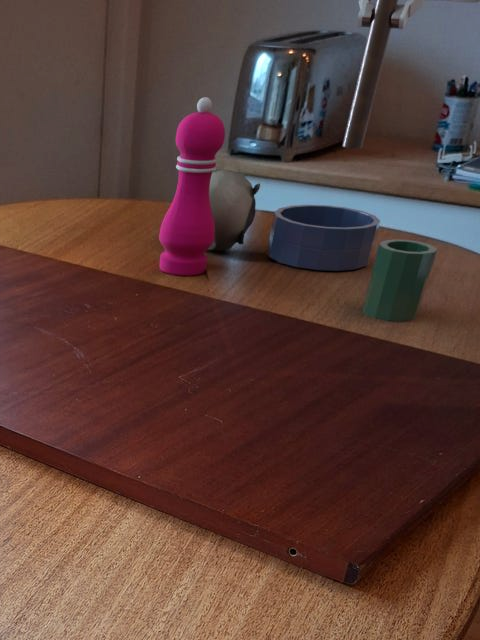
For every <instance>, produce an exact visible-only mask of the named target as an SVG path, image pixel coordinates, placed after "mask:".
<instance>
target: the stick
mask: <svg viewBox="0 0 480 640" xmlns="http://www.w3.org/2000/svg"><path fill="white" fill-rule="evenodd" d="M398 2H399V0H375V2H374V3H375V7H374V11H373V15H372V20H371V24H370V27H368V33H367V36H366V37H367V38H366V41H365V45H364V50H363V53H362V58H361V62H360V67H359V71H358V76H357V81H356V85H355V88H354V92H353V97H352V103H351V106H350V110H349V115H348V119H347V122H346V128H345V132H344V136H343V139H342V145H341V146H342V148H346V149H351V150H352V149H353V150H358V149H362V147H363V145H364V140H365V136H366V132H367V128H368V125H369V120H370V117H371V112H372V109H373V104H374V98H375V97H376V92H377V88H378V84H379V79H380V76H381V72H382V67H383V63H384V59H385V55H386V51H387V47H388V42H389V38H390V33H391V30H392V29H391V28H390V26H391V17H392V14H393V13H394V9H395V7H396V5H398Z"/></svg>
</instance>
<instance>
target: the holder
mask: <svg viewBox="0 0 480 640" xmlns="http://www.w3.org/2000/svg"><path fill="white" fill-rule="evenodd" d="M437 251H438V249H437V248H436V247H435V246H434V245H432V244H429V243H426V242H422V241H417V240H412V239H411V240H410V239H388V240H383V241H381V242H380V243H379V244H378V247H377V251H376V255H375V258H374V262H373V266H372V270H371V273H370V278H369V282H368V284H367V289H366V293H365V295H364V300H363V303H362V307H361V310H362V312H363V313H364V314H365V315H366V316H367V317H370V318H372V319H376V320H380V321H386V322H399V323H402V322H410V321H413V320H415V319H416V318H417V316H418V314H419V311H420V307H421V304H422V301H423V298H424V294H425V292H426V287H427V285H428V281H429V278H430V274H431V271H432V269H433V265H434V261H435V258H436V255H437Z"/></svg>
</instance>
